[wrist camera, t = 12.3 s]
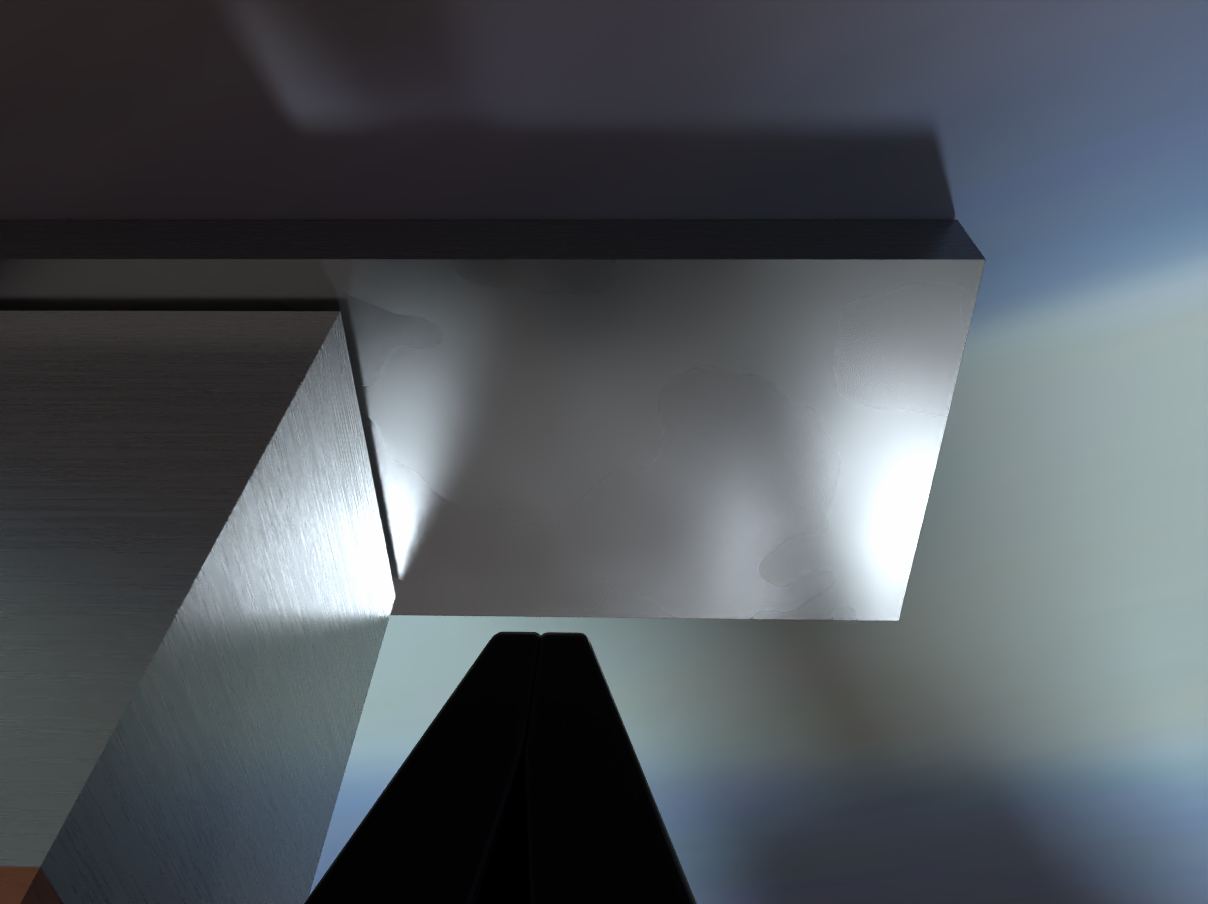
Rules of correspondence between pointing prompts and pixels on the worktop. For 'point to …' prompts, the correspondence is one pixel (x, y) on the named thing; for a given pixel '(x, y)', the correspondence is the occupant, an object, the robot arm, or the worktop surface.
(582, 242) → the press rail
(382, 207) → the worktop surface
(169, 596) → the small box
